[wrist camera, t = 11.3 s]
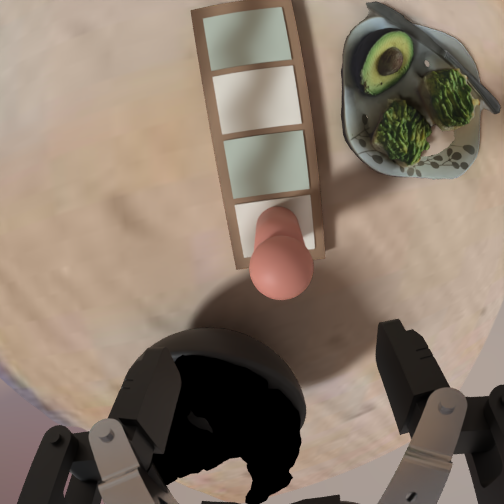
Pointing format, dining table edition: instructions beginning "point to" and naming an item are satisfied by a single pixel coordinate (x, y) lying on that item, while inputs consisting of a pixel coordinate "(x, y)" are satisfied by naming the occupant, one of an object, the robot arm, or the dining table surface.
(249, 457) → the coal bowl
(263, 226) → the pawn
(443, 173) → the salad plate
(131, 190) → the dining table surface
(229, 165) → the board
